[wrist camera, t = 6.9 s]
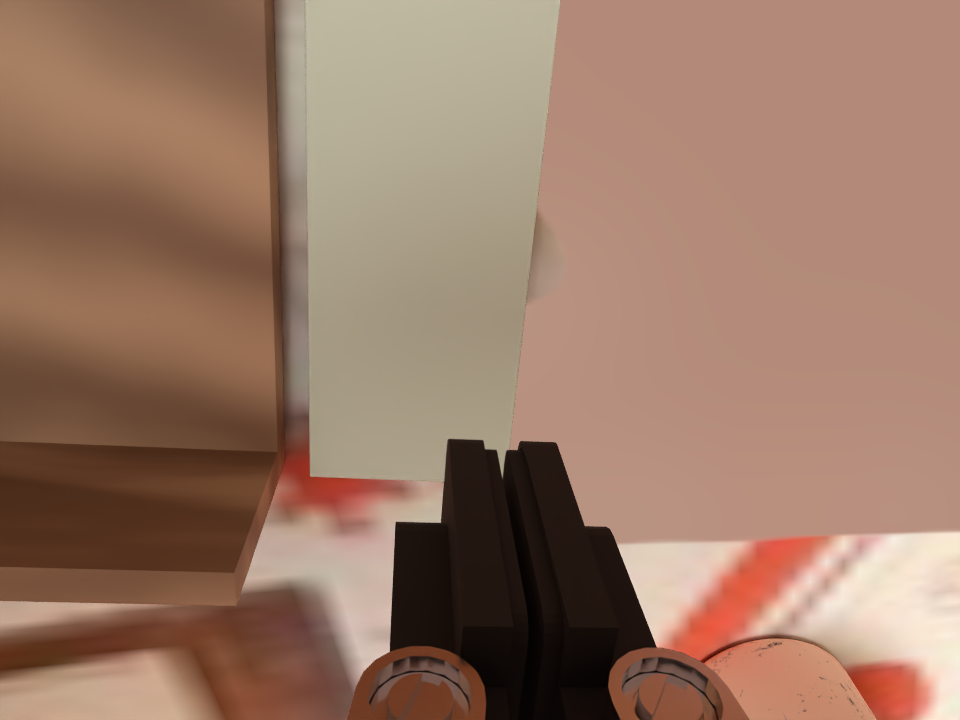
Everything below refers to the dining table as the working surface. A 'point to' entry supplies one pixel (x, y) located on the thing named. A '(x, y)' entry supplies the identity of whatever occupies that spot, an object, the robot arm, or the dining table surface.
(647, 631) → the robot arm
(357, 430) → the tailgate
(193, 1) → the crate
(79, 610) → the dining table surface
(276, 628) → the dining table surface
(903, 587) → the dining table surface
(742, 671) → the teacup with lid
